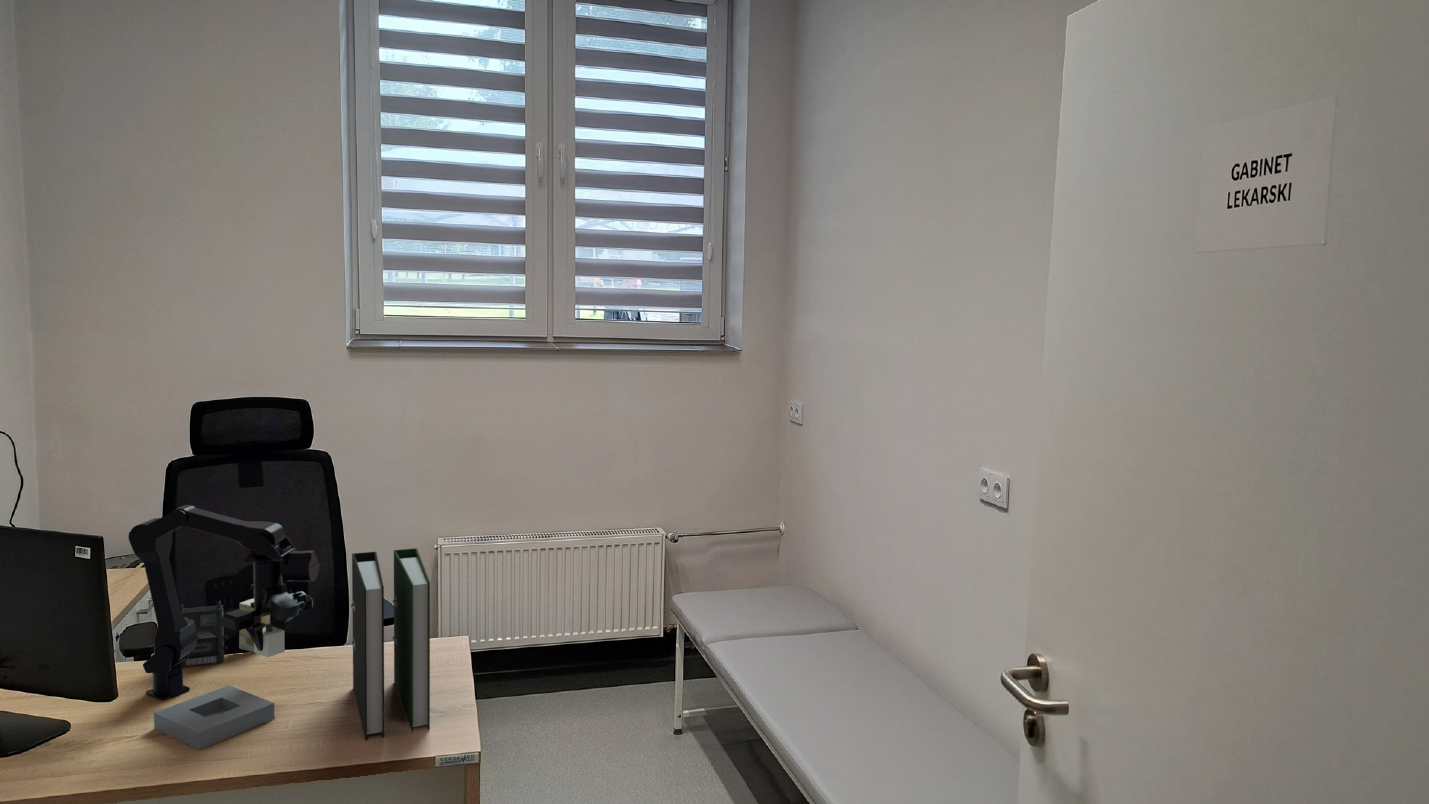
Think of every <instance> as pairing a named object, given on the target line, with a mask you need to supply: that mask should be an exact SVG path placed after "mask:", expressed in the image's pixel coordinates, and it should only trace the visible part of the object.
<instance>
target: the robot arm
mask: <svg viewBox="0 0 1429 804" xmlns="http://www.w3.org/2000/svg"><path fill="white" fill-rule="evenodd" d="M182 527H185V528H188V529H192V530H196V531H200V532H203V533H206V534H211V535H215V536H218V537H222V538H225V539H229V540H232V541H234V542H236V543H238V544H239V545H241V546H242V547H243V548H245V549H247V550H249V551H250V552H249V553H248V554H247V555H246V556H245V557H244V558H243V559H242V562H244V563H253V564H252V565H253V584H250V585H249V588H250V589H249V590H252V591H253V598H254V602H252V603H251V607H252V608H254V610H253V611H249V612H247V611H244V610H241V609H239V608H238V609H235V610H232V611H228V612H223V616H222V618H221V626H223V627H224V628H227V629H230V630H233V631H239V630H242V629H246V630H247V631H248V633H249V634H250V636H251V638H252V640H253V642H254V643H255V645H256V647H257V649H258V650H259V651H262V650H263V628H264V626H265V625H266V624H265V623H261V617H263V616H266V615H270V616H271V618H272V625H273V627H276V628H279V629H282V630H284V634H285V633H286V630H287V628H288V626H289V623H290V622H291V620H293V618H296V617H298V615H299V612H300V611H301V612H303V611H306V610H310V609H313V607H314V599H313V598H312V597H311V596H310V595H309V594H306V593H305V592H304V591H302V590H301V591H297V592H293V593H292V592H291V593H289V592H288V586H287V584H286V583H284V582H283V580H284V581H286V582H315V581H316V580H317V579H318V575H319V573H320V562H319V559H318V557H317V555H316V553H315V550H311V549H310V550H297V547H296V546H295V545H294V544H293V543H292V541H291V540H290V539H289V537H288V536H287V535H286V531H285V529H284V527H283V526H282V525H281V524H279V523H277V522H271V521H265V520H264V521H261V520H260V521H258V520H257V521H256V520H255V521H249V520H242V519H239V518H235V517H232V516H227V515H224V514H221V513H220V514H219V513H215V512H213V511H209V510H205V509H201V508H199V507H195V506H194V505H190V504H186V505H183V506H180V507H177V508H176V509H173V510H172V511H171V512H169V513H168V514H166V515H164V516H161V517H160V518H159V517H155V518H152V519H149V520H146V521H143V522H141V523H139V524H137V525H135V526H133V527H132V528H131V530H130V531H129V532H128V537H127V538H128V541H129V544H130V547H131V549H132V551H133V554H134V555H135V556H136V557H137V558H138V559H139V560H140V562H142V563H143V565H144V570H145V574H146V579H147V580H146V581H147V584H148V588H149V593H150V596H151V601H152V606H153V610H154V615H155V620H156V625H157V626H156V630H155V635H154V640H153V649H154V651H153V654H152V655H151V656H150V657H149V658H148V659H147V660H146V661H145V662H143V663H142V667H143V670H144V672H145V673H146V674H152V688H151V689H148V690H146V691H145V694H146V695H148V696H151V697H152V698H155V699H157V700H161V701H163V700H166V699H169V698H171V697H174V696H177V695H180V694H183V693H186V692H189V691H190V690H191V687H190V686H187V685H185V684H184V674H183V668H182V662H183V661H184V660H185V659H187V658H188V656H189V654H190V652H192V651H193V650H194V648H195V647H196V644H197V639H199V637H198V636H197V634H196V627H195V623H194V622H192V623H190V624H188V623H187V622H186V621H185V620H184V619H183V617H182V614H181V605H180V601H179V596H178V593H177V592H178V590H177V588H176V582H175V579H174V573H173V570H172V565H171V560H170V555H171V551H172V546H173V533H174V532H175V531H177V530H179V529H181V528H182ZM278 547H279V549H277V548H278ZM261 612H262V613H261Z"/></svg>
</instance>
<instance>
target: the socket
mask: <svg viewBox="0 0 1429 804" xmlns="http://www.w3.org/2000/svg"><path fill="white" fill-rule="evenodd" d="M275 718H276V717H275V702H274V701H270V700H268V699H265V698H263V697H260V696H257V695H255V694H252V693H250V692H247V691H244V690H243V689H239V688H237V687H235V686H231V685H226V686H224V687H221V688H218V689H215V690H213V691H209V692H207V693H204V694H200V695H199V696H196V697H193V698H191V699H187V700H185V701H182V702H179V703H176V704H174V705H171V706H168V707H166V708H163V709H160V710H158V711H155V712H153V728H154V730H156V731H158V732H160V733H163V734H164V735H167V736H168V737H171V738H173V737H174V738H173V739H175V738H176V740H178V741H180V742H182V743H184V744H186V743H187V744H186V745H188V746H191V747H192V746H193V748H195V749H197V750H198V751H200V750H202V749H206V748H208V747H210V746H212V745H215V744H217V743H219V742H222V741H224V740H227V739H230V738H231V737H234V736H236V735H239V734H242V733H244V732H245V731H248V730H251V729H253V728H255V727H258V726H260V725H263V724H265V722H266V723H268V722H269V721H272V719H273V720H274V719H275Z"/></svg>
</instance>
